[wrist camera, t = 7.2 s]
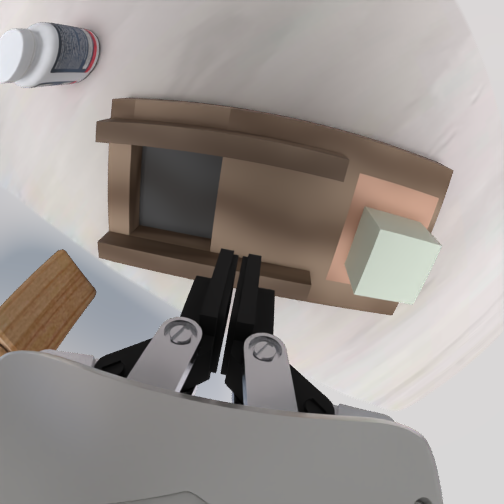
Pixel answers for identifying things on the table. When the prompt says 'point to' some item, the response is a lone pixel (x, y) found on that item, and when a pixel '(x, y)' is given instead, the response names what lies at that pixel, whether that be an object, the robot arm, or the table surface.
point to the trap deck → (253, 194)
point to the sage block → (390, 257)
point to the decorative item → (45, 306)
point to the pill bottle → (47, 55)
